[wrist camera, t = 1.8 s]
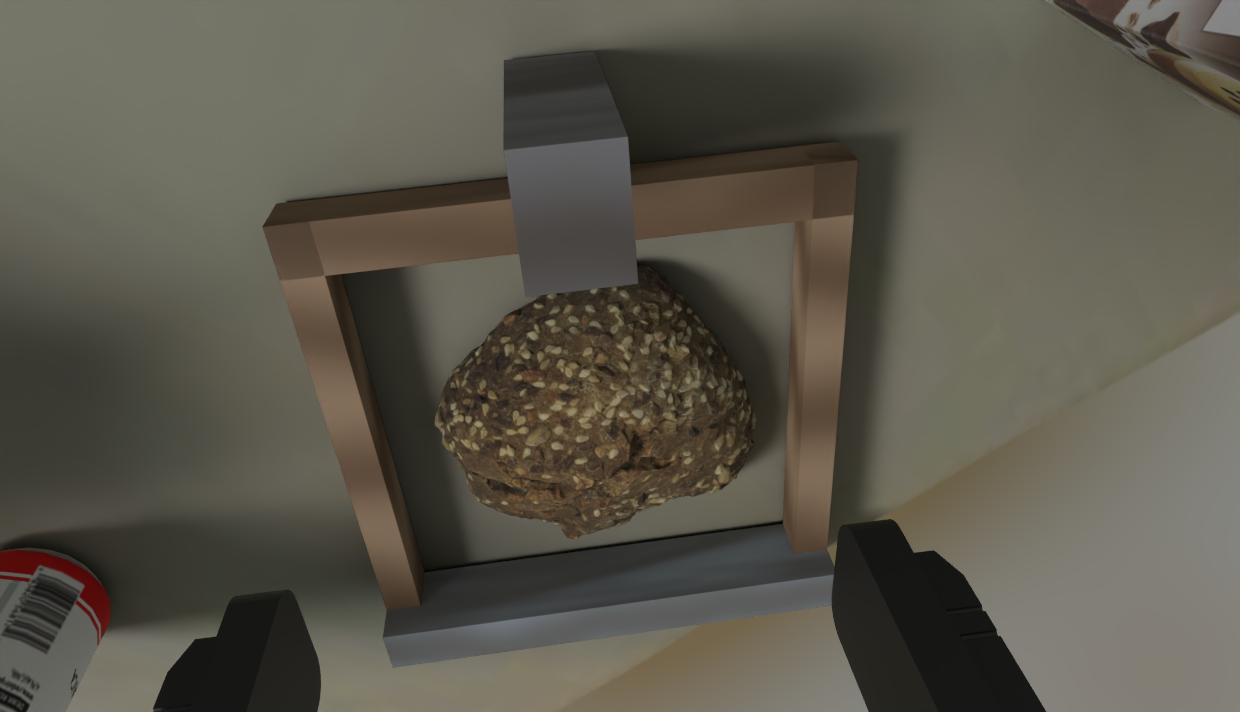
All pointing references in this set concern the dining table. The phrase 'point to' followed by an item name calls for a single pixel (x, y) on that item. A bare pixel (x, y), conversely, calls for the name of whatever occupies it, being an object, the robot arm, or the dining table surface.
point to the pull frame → (565, 262)
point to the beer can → (46, 628)
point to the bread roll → (597, 407)
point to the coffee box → (1173, 42)
